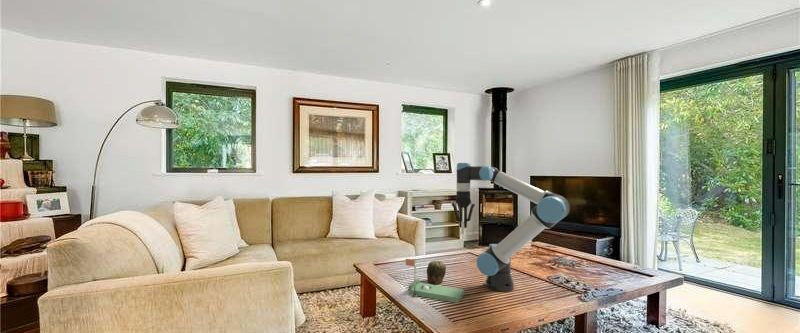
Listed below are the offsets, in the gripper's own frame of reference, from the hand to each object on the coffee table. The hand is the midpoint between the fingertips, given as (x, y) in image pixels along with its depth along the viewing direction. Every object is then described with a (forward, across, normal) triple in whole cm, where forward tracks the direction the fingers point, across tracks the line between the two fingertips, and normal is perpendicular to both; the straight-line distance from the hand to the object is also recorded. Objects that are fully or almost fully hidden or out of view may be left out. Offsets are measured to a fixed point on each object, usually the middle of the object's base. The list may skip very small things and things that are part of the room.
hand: (463, 233), depth 182 cm
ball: (+28, +16, +16) cm, 36 cm away
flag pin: (+29, +21, +24) cm, 43 cm away
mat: (+29, +10, +16) cm, 35 cm away
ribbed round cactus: (+30, +16, -2) cm, 34 cm away
